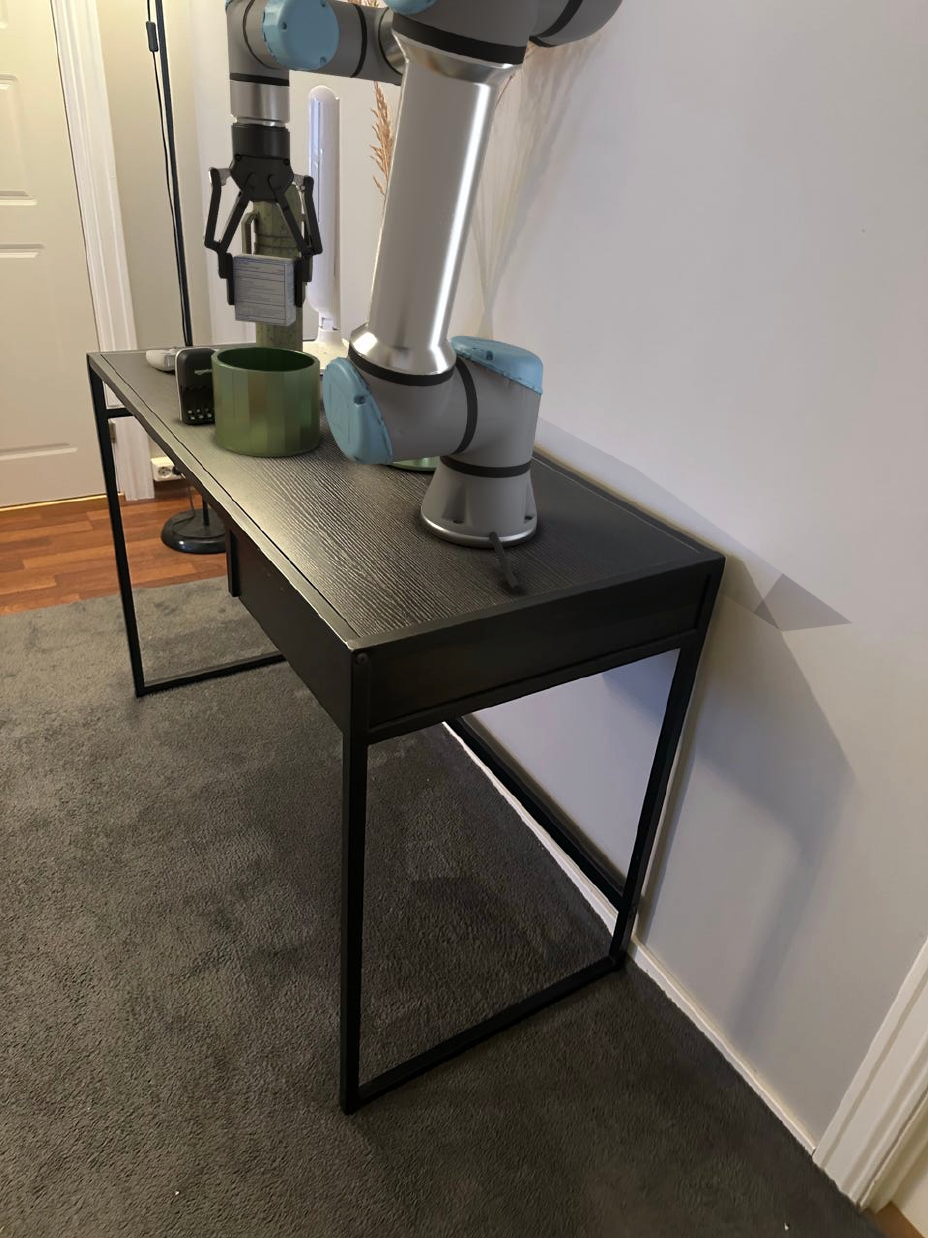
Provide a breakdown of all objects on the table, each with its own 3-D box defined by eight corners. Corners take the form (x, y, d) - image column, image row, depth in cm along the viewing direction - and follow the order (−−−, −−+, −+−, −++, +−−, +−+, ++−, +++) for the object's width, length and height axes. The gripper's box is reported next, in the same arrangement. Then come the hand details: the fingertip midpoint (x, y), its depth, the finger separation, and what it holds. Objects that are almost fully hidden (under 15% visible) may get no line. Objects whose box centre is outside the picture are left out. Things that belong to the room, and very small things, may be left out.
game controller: (217, 344, 166) (230, 345, 158) (220, 367, 167) (232, 369, 159) (142, 345, 159) (151, 346, 151) (145, 369, 161) (154, 371, 152)
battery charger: (188, 427, 131) (182, 353, 125) (177, 420, 133) (171, 348, 128) (229, 422, 135) (225, 350, 130) (218, 415, 138) (214, 344, 132)
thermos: (237, 399, 146) (227, 175, 129) (294, 391, 154) (292, 178, 136) (264, 413, 141) (258, 181, 123) (322, 404, 148) (324, 184, 131)
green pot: (328, 455, 126) (329, 372, 120) (222, 458, 121) (217, 372, 115) (308, 423, 139) (308, 346, 132) (211, 424, 133) (207, 344, 127)
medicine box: (296, 321, 123) (296, 258, 118) (288, 327, 119) (287, 262, 114) (244, 315, 123) (241, 252, 119) (233, 321, 119) (231, 256, 115)
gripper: (336, 130, 115) (333, 301, 126) (171, 113, 108) (184, 296, 119) (348, 132, 109) (344, 312, 120) (175, 114, 102) (188, 307, 113)
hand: (265, 304), depth 120 cm, fingers closed on medicine box, 9 cm apart
